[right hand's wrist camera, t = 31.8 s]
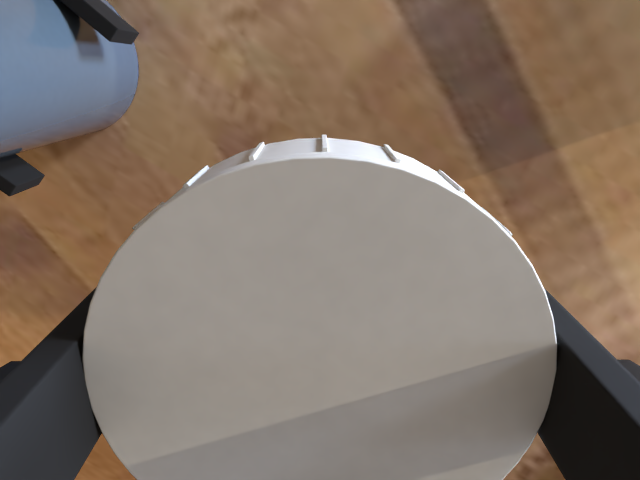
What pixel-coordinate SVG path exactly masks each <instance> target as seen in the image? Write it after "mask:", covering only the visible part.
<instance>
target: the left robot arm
mask: <svg viewBox="0 0 640 480" xmlns="http://www.w3.org/2000/svg"><path fill="white" fill-rule="evenodd" d="M60 1H61V2H63V3H64V4H65V5H66V6H67V7H69V8H70V9H71V10H72V11H73V12H75V13H76V14H77V15H78V16H79V17H81V18H82V19H83V20H84V21H85V22H87V23H88V24H89V25H90V26H91V27H93V28H94V29H95V30H96V31H97V32H99V33H100V34H101V35H102V36H103V37H105V38H106V39H107V40H108V41H109V42H116V43H123V44H131V45H132V43H133V42H134V40H135V39H136V37H137V36H138V34H139V32H137V31H136V30H135V29H134V28H133V27H132V26H130V25H129V24H128V23H127V22H126V21H124V20H123V19H122V18H121V17H120V16H119V15H117V14H116V13H115V12H114V11H113V10H112V9H110V8H109V7H108V6H107V5H106V4H104V3H103V2H102V1H101V0H60ZM44 176H45V175H44V174H42V173H41V172H39V171H38V170H37V169H35V168H34V167H33V166H31V165H30V164H28V163H27V162H26V161H24V160H23V159H22V158H20V157H19V156H17V155H16V154H13V155H9V156H5V157H1V158H0V190H1V191H2V192H4V193H5V194H7V195H8V196H12V195H14V194H17V193H19V192H22V191H24V190H26V189H29V188H31V187H34V186H36V185H39V183H40V182H41V180H42V179H43V177H44Z"/></svg>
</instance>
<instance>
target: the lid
mask: <svg viewBox="0 0 640 480" xmlns="http://www.w3.org/2000/svg"><path fill="white" fill-rule="evenodd" d="M464 191H465V190H464V189H463V188H462V187H460V186H459V185H458V184H457V183H456V182H454V181H453V180H452V179H451V178H450V177H449V176H447V175H446V174H445V173H444V172H443V171H441V170H440V169H439V170H438V172H436V171H435V170H433V169H431V168H429V167H428V166H426V165H424V164H422V163H420V162H419V161H417V160H415V159H413V158H411V157H408V156H406V155H403V154H401V153H398V152H395V151H393V150H392V149H391V148H390V147H389V146H388V145H386V144H384V146H383V147H381V146H376V145H372V144H368V143H364V142H360V141H353V140H344V139H334V138H327V135H322V138H308V139H294V140H288V141H282V142H276V143H270V144H266V145H265V144H264V142H261V143H259V144H258V145H257V147H256V148H253V149H250V150H247V151H243V152H241V153H238V154H236V155H234V156H232V157H230V158H228V159H225V160H223V161H221V162H219V163H217V164H215V165H213V166H212V167H210V168H209V167H208V165H206V166H205V167H203V168H202V169H201V170H200V171H199V172H198V173H196V174H195V175H194V176H193V177H192V178H191V179H189V180H188V181H187V182H186V183H185V184H184V185H183V188H181V189H180V190H179V191H178V192H177V193H176V194H175V195H173V196H172V197H171V198H170V199H169V200H168V201H167V202H165V203H164V202H162V203H160V204H159V205H158V206H157V207H156V208H155V209H153V210H152V211H151V212H150V213H149V214H147V215H146V216H145V217H144V218H143V219H142V220H140V221H139V222H138V223H137V224H136V225H135V226H134V227H133V228H132V229H133V230H134V231H133V233H132V234H131V235H130V236H129V237H128V238H127V240H126V241H125V242H124V243H123V244H122V246H121V247H120V248H119V249H118V250H117V251H116V253H115V255H114V256H113V258H112V260H111V261H110V263H109V265H108V266H107V268H106V269H105V271H104V273H103V274H102V276H101V278H100V280H99V283H98V285H97V288H96V290H95V293H94V295H93V298H92V300H91V303H90V306H89V311H88V315H87V320H86V324H85V328H84V340H83V356H82V358H83V368H84V377H85V382H86V386H87V391H88V395H89V399H90V404H91V408H92V411H93V413H94V415H95V418H96V420H97V422H98V425H99V427H100V429H101V432H102V433H103V435H104V437H105V438H106V440H107V442H108V443H109V445H110V447H111V448H112V450H113V452H114V453H115V454H116V456H117V457H118V458H119V459H120V461H121V462H122V463H123V464H124V466H125V467H126V468H127V470H128V471H129V472H130V473H131V474H132V475H133V476H134V477H135V478H136V479H137V480H503V479H504V478H505V476H506V475H507V474H508V473H509V472H510V471H511V470H512V469H513V468H514V467H515V465H516V464H517V463H518V462H519V460H520V459H521V458H522V456H523V455H524V453H525V452H526V450H527V449H528V448H529V446H530V445H531V443H532V441H533V440H534V438H535V436H536V434H537V432H538V430H539V428H540V426H541V424H542V422H543V420H544V417H545V414H546V411H547V409H548V405H549V401H550V398H551V393H552V388H553V384H554V379H555V374H556V366H557V341H556V333H555V326H554V318H553V315H552V312H551V308H550V305H549V302H548V298H547V295H546V292H545V290H544V288H543V286H542V284H541V282H540V280H539V277H538V275H537V273H536V271H535V269H534V267H533V265H532V264H531V263H530V261H529V260H528V258H527V257H526V255H525V254H524V253H523V251H522V250H521V248H520V247H519V246H518V244H517V243H516V241H515V240H514V239H513V238H512V237H511V236H512V235H513V234H512V233H511V232H510V231H509V230H508V229H507V228H506V227H504V226H503V225H502V224H501V223H500V222H499V221H497V220H496V219H495V218H494V217H493V216H492V215H490V214H489V213H488V212H487V211H486V210H485V209H483V208H482V207H480V206H479V205H477V204H476V203H475V202H474V201H473V200H472V199H471V198H469V197H468V196H467V195H466V194H465V193H464Z"/></svg>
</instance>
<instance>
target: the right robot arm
mask: <svg viewBox="0 0 640 480" xmlns="http://www.w3.org/2000/svg"><path fill="white" fill-rule="evenodd" d="M96 288H97V287H96ZM96 288H95V289H94V290H93V291H92V292H91V293H90V294H89V295H88V296H87V297H86V298H85V299H84V300H83V301H82V302H81V303H80V304H79V305H78V306H77V307H76V308H75V309H74V310H73V311H72V312H71V313H70V314H69V315H68V316H67V317H66V318H65V319H64V320H63V321H62V322H61V323H60V324H59V325H58V326H57V327H56V328H55V329H54V330H53V331H52V332H51V333H49V334H48V335H47V336H46V337H45V338H44V339H43V340H42V341H41V342H40V343H39V344H38V345H37V346H36V347H35V348H34V349H33V350H32V351H31V352H30V353H29V354H28V355H27V356H26V357H25V358H24V359H23V360H22V361H11V362H9V363H7V364H6V365H4V366H2V367H0V480H74V479H75V477H76V476H77V474H78V472H79V471H80V469H81V467H82V465H83V464H84V462H85V460H86V459H87V457H88V455H89V454H90V452H91V450H92V449H93V447H94V445H95V444H96V442H97V440H98V439H99V437H100V435H101V434H102V432H101V429H100V427H99V425H98V422H97V420H96V418H95V415H94V413H93V411H92V408H91V404H90V399H89V395H88V391H87V386H86V382H85V377H84V368H83V358H82V356H83V340H84V328H85V324H86V320H87V315H88V311H89V306H90V303H91V300H92V298H93V295H94V293H95V290H96ZM544 290H545V289H544ZM545 292H546V295H547V298H548V302H549V305H550V308H551V312H552V315H553V318H554V326H555V333H556V341H557V366H556V374H555V379H554V384H553V388H552V393H551V398H550V401H549V405H548V409H547V411H546V414H545V417H544V420H543V422H542V424H541V426H540V428H539V430H538V434H539V436H540V437H541V439H542V441H543V442H544V444H545V446H546V448H547V449H548V451H549V453H550V454H551V456H552V458H553V459H554V461H555V463H556V464H557V466H558V468H559V469H560V471H561V473H562V474H563V476H564V478H565V479H566V480H640V366H639V365H637V364H635V363H634V362H632V361H630V360H617V359H616V358H615V357H614V356H613V355H612V354H611V353H609V352H608V351H607V350H606V349H605V348H604V347H603V346H602V345H601V344H600V343H599V342H598V341H597V340H596V339H595V338H594V337H593V336H592V335H591V334H590V333H589V332H588V331H587V330H586V329H585V328H584V327H583V326H582V325H581V324H580V323H579V322H578V321H577V320H576V319H575V318H574V317H573V316H572V315H571V314H570V313H569V312H568V311H567V310H566V309H565V308H564V307H563V306H562V305H561V304H560V303H559V302H558V301H557V300H556V299H555V298H554V297H553V296H552V295H551V294H550V293H549V292H548V291H546V290H545Z"/></svg>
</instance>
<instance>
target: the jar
mask: <svg viewBox="0 0 640 480" xmlns="http://www.w3.org/2000/svg"><path fill="white" fill-rule="evenodd" d="M101 1H102V2H103V3H104V4H106V5H107V6H108V7H109V8H110V9H112V10H113V11H114V12H115V13H116V14H117V15H119V14H118V13H117V12H116V10H115V9H114V8H113V7H112V6H111V5H110V4H109V3H108V2H107V1H106V0H101ZM119 16H120V15H119ZM137 83H138V58H137V53H136V49H135V45H134V42H133V43H132V45H131V44H123V43H116V42H109V41H108V40H107V39H106V38H105V37H103V36H102V35H101V34H100V33H99V32H97V31H96V30H95V29H94V28H93V27H91V26H90V25H89V24H88V23H87V22H85V21H84V20H83V19H82V18H81V17H79V16H78V15H77V14H76V13H75V12H73V11H72V10H71V9H70V8H69V7H67V6H66V5H65V4H64V3H63V2H61V1H60V0H0V158H1V157H5V156H9V155H13V154H16V153H20V152H24V151H27V150H31V149H35V148H38V147H42V146H46V145H49V144H53V143H57V142H60V141H64V140H68V139H71V138H75V137H79V136H82V135H86V134H90V133H93V132H97V131H100V130H103V129H105V128H107V127H109V126H110V125H112V124H113V123H115V122H116V121H117V120H118V119H119V118H121V117H122V115H123V114H124V113H125V112H126V111H127V109H128V107H129V106H130V104H131V102H132V100H133V97H134V95H135V92H136V88H137Z"/></svg>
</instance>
